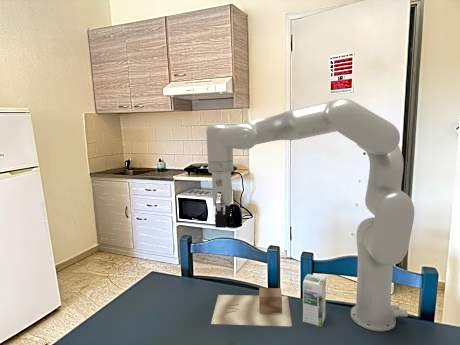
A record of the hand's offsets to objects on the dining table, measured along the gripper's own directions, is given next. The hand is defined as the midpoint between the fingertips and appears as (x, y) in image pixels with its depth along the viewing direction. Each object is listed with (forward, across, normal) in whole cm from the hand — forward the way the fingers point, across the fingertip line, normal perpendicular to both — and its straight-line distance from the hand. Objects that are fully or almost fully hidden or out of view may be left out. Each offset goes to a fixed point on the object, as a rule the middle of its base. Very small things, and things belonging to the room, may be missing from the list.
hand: (223, 221), depth 98 cm
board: (+31, +1, -8) cm, 32 cm away
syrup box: (+31, -3, -27) cm, 42 cm away
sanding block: (+30, +1, -14) cm, 33 cm away
